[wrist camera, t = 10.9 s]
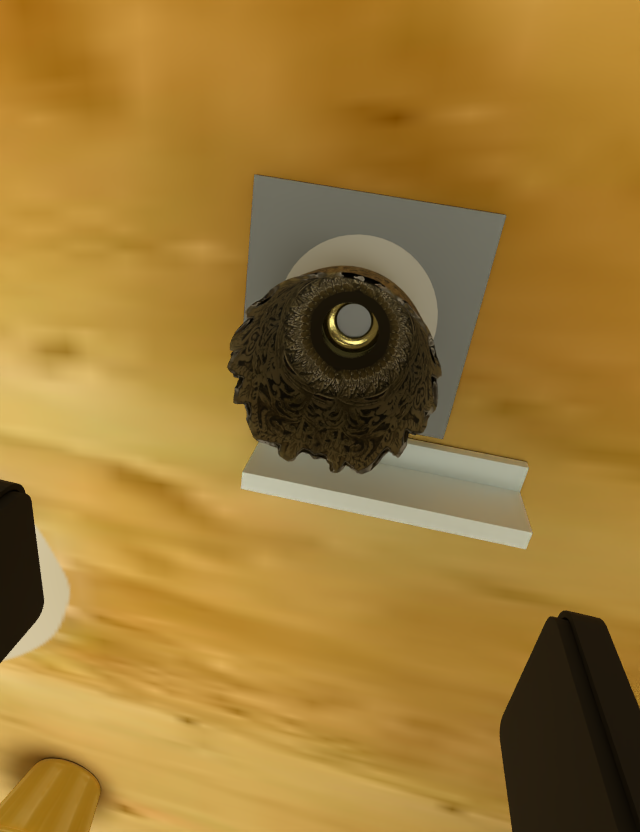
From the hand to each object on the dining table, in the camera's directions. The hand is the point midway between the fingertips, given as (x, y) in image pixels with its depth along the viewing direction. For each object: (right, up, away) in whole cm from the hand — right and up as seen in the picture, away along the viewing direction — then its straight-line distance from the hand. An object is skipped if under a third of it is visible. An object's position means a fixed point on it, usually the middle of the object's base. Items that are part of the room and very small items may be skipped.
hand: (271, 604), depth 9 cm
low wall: (+5, +1, +19) cm, 20 cm away
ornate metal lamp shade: (+3, +8, +16) cm, 18 cm away
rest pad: (+3, +8, +16) cm, 18 cm away
